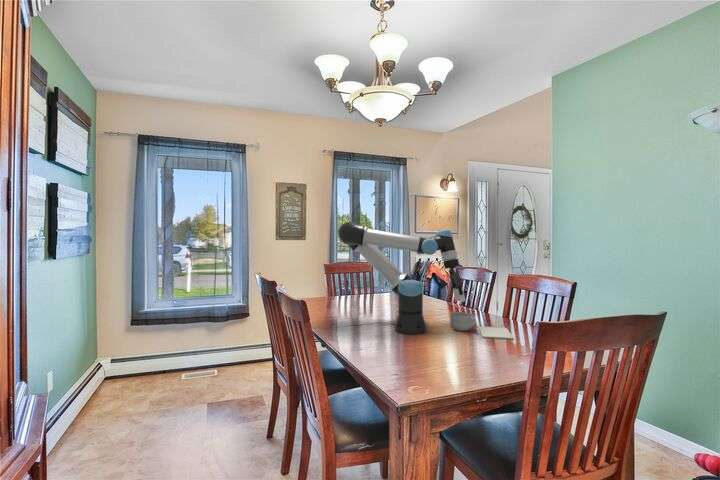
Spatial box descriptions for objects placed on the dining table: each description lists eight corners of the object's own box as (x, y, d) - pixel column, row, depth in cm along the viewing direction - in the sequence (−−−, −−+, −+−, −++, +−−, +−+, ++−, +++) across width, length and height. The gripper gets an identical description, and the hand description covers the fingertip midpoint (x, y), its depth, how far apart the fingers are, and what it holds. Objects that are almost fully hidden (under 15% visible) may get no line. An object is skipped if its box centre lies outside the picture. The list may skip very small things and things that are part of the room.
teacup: (446, 327, 185) (446, 311, 185) (465, 326, 188) (465, 310, 188) (461, 335, 171) (461, 317, 171) (482, 333, 175) (482, 316, 175)
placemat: (482, 338, 166) (482, 336, 166) (478, 327, 185) (478, 326, 185) (513, 339, 164) (513, 338, 164) (506, 328, 182) (506, 327, 182)
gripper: (461, 256, 177) (472, 300, 174) (454, 260, 202) (464, 298, 199) (445, 259, 178) (456, 303, 175) (440, 263, 202) (450, 301, 199)
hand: (460, 301), depth 187 cm, fingers open, 13 cm apart
